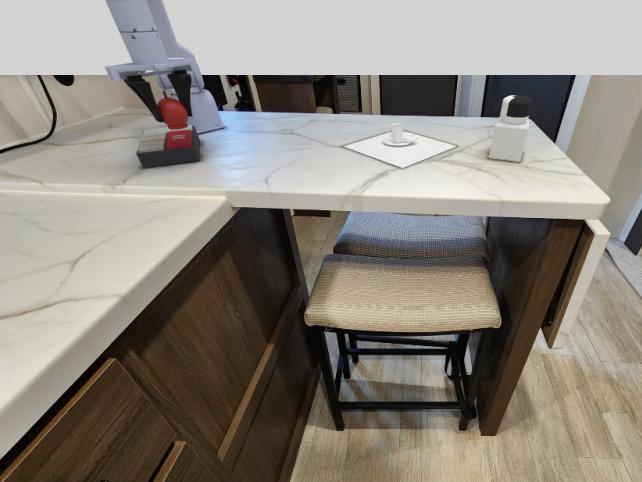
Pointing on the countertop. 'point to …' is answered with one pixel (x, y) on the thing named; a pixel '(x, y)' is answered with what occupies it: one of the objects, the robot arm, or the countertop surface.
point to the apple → (173, 113)
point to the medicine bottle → (511, 129)
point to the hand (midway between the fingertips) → (174, 118)
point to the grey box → (168, 146)
